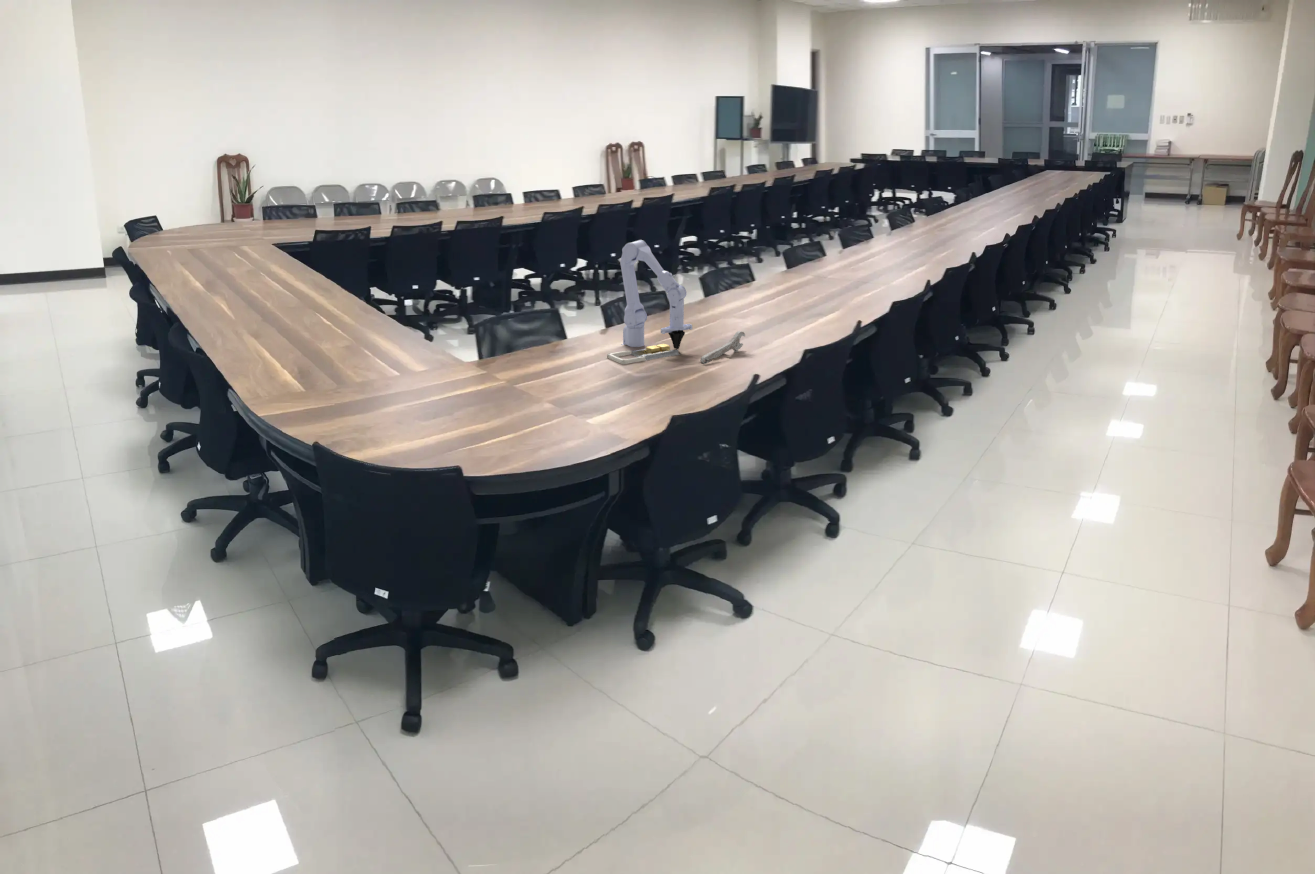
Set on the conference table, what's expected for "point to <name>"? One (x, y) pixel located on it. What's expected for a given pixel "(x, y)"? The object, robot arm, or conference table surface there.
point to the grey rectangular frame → (615, 357)
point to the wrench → (724, 348)
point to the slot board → (654, 354)
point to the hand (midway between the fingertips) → (676, 348)
